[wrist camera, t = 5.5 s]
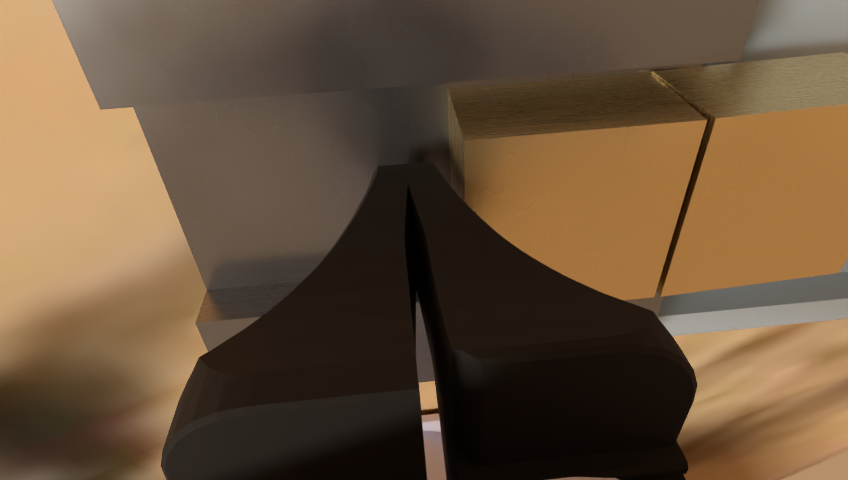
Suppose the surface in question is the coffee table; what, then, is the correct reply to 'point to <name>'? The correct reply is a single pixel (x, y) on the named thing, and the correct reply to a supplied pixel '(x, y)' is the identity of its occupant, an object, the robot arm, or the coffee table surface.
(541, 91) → the block
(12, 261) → the coffee table surface
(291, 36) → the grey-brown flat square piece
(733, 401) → the coffee table surface
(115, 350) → the coffee table surface
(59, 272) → the coffee table surface
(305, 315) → the robot arm
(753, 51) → the tray
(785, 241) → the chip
